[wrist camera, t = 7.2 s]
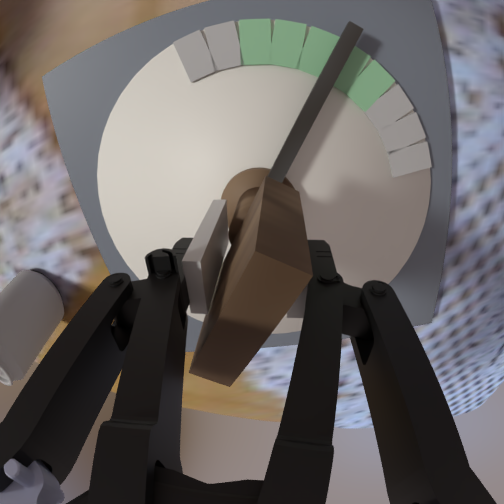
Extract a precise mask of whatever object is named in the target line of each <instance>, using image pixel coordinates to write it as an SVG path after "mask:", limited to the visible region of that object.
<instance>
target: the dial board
mask: <svg viewBox="0 0 504 504" xmlns="http://www.w3.org/2000/svg"><path fill="white" fill-rule="evenodd" d="M349 21H351V22H353V23H354V24H356V25H358V26H360V27H361V28H363V29H364V30H363V32H362V33H361V35H360V37H359V39H358V41H357V43H356V45H355V46H354V48H353V50H352V52H351V54H350V56H349V58H348V59H347V61H346V63H345V65H344V67H343V69H342V71H341V73H340V74H339V76H338V78H337V80H336V82H335V84H334V86H333V87H332V89H331V91H330V93H329V95H328V97H327V99H326V101H325V102H324V104H323V106H322V108H321V110H320V112H319V114H318V116H317V118H316V119H315V121H314V123H313V125H312V127H311V129H310V131H309V133H308V134H307V136H306V138H305V140H304V142H303V144H302V146H301V148H300V150H299V151H298V153H297V155H296V157H295V159H294V161H293V163H292V165H291V167H290V168H289V170H288V172H287V174H286V176H285V177H286V178H287V179H288V180H289V181H290V182H291V183H292V185H293V187H294V188H295V190H297V191H299V193H300V199H301V204H302V210H303V216H304V222H305V228H306V234H307V240H325V241H326V242H327V243H328V244H329V245H330V248H331V253H332V256H333V259H334V263H335V267H336V271H337V273H338V274H340V275H341V276H342V278H343V282H344V283H346V284H348V285H351V286H355V287H359V288H362V287H363V285H364V283H366V282H367V281H371V280H378V281H383V282H385V283H387V284H389V285H390V286H391V287H392V288H393V290H394V291H395V293H396V295H397V297H398V299H399V301H400V303H401V304H402V306H403V308H404V310H405V312H406V314H407V316H408V318H409V320H410V322H411V324H412V326H413V327H414V326H419V325H423V324H428V323H431V322H432V318H433V314H434V310H435V305H436V301H437V296H438V291H439V286H440V281H441V275H442V270H443V263H444V257H445V250H446V242H447V234H448V225H449V214H450V201H451V182H452V132H451V114H450V101H449V91H448V82H447V74H446V67H445V61H444V55H443V49H442V44H441V39H440V34H439V29H438V25H437V21H436V16H435V13H434V9H433V5H432V1H431V0H209V1H206V2H202V3H199V4H195V5H192V6H189V7H185V8H182V9H179V10H176V11H173V12H170V13H167V14H164V15H162V16H159V17H156V18H154V19H151V20H149V21H146V22H144V23H141V24H139V25H136V26H134V27H132V28H129V29H127V30H125V31H123V32H120V33H118V34H116V35H114V36H112V37H110V38H108V39H106V40H104V41H102V42H100V43H98V44H96V45H94V46H92V47H90V48H88V49H87V50H85V51H83V52H81V53H79V54H78V55H76V56H74V57H72V58H71V59H69V60H67V61H66V62H64V63H62V64H61V65H59V66H58V67H56V68H54V69H53V70H51V71H50V72H48V73H47V74H45V75H44V76H42V79H43V84H44V89H45V93H46V97H47V102H48V106H49V110H50V114H51V118H52V121H53V125H54V129H55V132H56V136H57V139H58V142H59V146H60V149H61V152H62V155H63V158H64V162H65V165H66V168H67V170H68V173H69V176H70V179H71V182H72V185H73V187H74V190H75V193H76V196H77V198H78V201H79V203H80V206H81V209H82V211H83V214H84V216H85V218H86V221H87V223H88V226H89V228H90V230H91V233H92V235H93V237H94V240H95V242H96V244H97V246H98V249H99V251H100V253H101V255H102V257H103V260H104V262H105V264H106V266H107V268H108V270H109V272H110V274H111V275H112V274H114V273H126V274H128V275H129V276H130V278H131V281H137V280H143V279H147V278H148V275H149V274H148V270H147V266H146V262H145V256H146V255H147V254H148V253H150V252H151V251H154V250H156V249H162V248H166V249H172V248H173V246H174V244H175V243H176V242H177V241H178V240H180V239H181V238H194V236H195V234H196V232H197V230H198V228H199V226H200V224H201V222H202V220H203V218H204V217H205V215H206V213H207V211H208V209H209V207H210V205H211V203H212V202H213V200H221V196H222V193H223V191H224V189H225V187H226V185H227V184H228V182H229V181H230V180H231V179H232V178H233V177H234V176H235V175H236V174H238V173H240V172H241V171H244V170H246V169H250V168H259V167H262V168H268V169H271V168H272V166H273V164H274V162H275V160H276V158H277V156H278V154H279V152H280V150H281V148H282V146H283V144H284V142H285V140H286V138H287V137H288V135H289V133H290V131H291V129H292V127H293V125H294V123H295V121H296V119H297V117H298V115H299V113H300V111H301V109H302V108H303V106H304V104H305V102H306V100H307V98H308V96H309V94H310V92H311V90H312V88H313V87H314V85H315V83H316V81H317V79H318V77H319V75H320V73H321V71H322V70H323V68H324V66H325V64H326V62H327V60H328V58H329V56H330V55H331V53H332V51H333V49H334V47H335V45H336V43H337V42H338V40H339V38H340V36H341V34H342V32H343V31H344V29H345V27H346V25H347V23H348V22H349ZM228 231H229V228H228ZM230 247H231V244H230V241H229V243H228V246H227V250H226V253H225V256H224V259H225V257H226V255H227V253H228V251H229V249H230ZM223 261H224V260H223ZM187 316H188V327H187V338H186V350H185V352H192V351H195V349H196V345H197V342H198V338H199V335H200V331H201V328H202V324H203V321H204V318H205V314H194V313H191V311H190V306H188V309H187ZM302 322H303V318H287V313H286V315H285V316H284V317H283V319H282V320H281V321H280V323H279V324H278V325H277V327H276V328H275V329H274V331H273V332H272V333H271V335H270V336H269V337H268V339H267V340H266V341H265V343H264V344H263V345H262V347H261V348H266V347H277V346H288V345H298V343H299V338H300V333H301V328H302ZM345 338H350V336H348V335H344V334H342V339H345Z"/></svg>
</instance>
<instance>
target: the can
mask: <svg viewBox="0 0 504 504" xmlns="http://www.w3.org/2000/svg"><path fill="white" fill-rule="evenodd" d="M63 316H64V306H63V303H62V298H61V296H60V293H59V292H58V290H57V288H56V287H55V285H54V284H53V283H52V282H51V281H50V280H49V279H48V278H47V277H45V276H44V275H42V274H40V273H38V272H34V271H30V270H23V271H21V272H20V273H19V274H18V275H17V276H16V277H15V278H14V279H13V280H12V281H11V282H10V283H9V284H8V285H7V286H6V287H5V288H4V289H3V290H2V291H1V293H0V382H2V383H3V384H5V385H9V386H11V385H13V381H14V380H21V379H23V378H24V376H25V375H26V373H27V371H28V370H29V368H30V367H31V365H32V363H33V362H34V360H35V359H36V357H37V356H38V354H39V353H40V351H41V349H42V348H43V346H44V345H45V343H46V342H47V340H48V339H49V337H50V336H51V334H52V333H53V332H54V330H55V329H56V327H57V326H58V324H59V323H60V321H61V320H62V319H63Z"/></svg>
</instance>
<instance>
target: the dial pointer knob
mask: <svg viewBox="0 0 504 504" xmlns="http://www.w3.org/2000/svg"><path fill="white" fill-rule="evenodd" d="M363 30H364V29H363V28H361V27H360V26H358V25H356V24H354V23H353V22H351V21H349V22H348V23H347V25H346V27H345V29H344V31H343V32H342V34H341V36H340V38H339V40H338V42H337V43H336V45H335V47H334V49H333V51H332V53H331V55H330V56H329V58H328V60H327V62H326V64H325V66H324V68H323V70H322V71H321V73H320V75H319V77H318V79H317V81H316V83H315V85H314V87H313V88H312V90H311V92H310V94H309V96H308V98H307V100H306V102H305V104H304V106H303V108H302V109H301V111H300V113H299V115H298V117H297V119H296V121H295V123H294V125H293V127H292V129H291V131H290V133H289V135H288V137H287V138H286V140H285V142H284V144H283V146H282V148H281V150H280V152H279V154H278V156H277V158H276V160H275V162H274V164H273V166H272V168H271V169H268V168H262V167H259V168H250V169H246V170H244V171H241V172H240V173H238V174H236V175H235V176H234V177H233V178H232V179H231V180H230V181H229V182H228V184H227V185H226V187H225V189H224V191H223V193H222V196H221V199H226V200H227V216H228V228H229V231H228V237H229V241H230V244H231V247H230V249H229V251H228V253H227V255H226V257H225V259H224V261H223V263H222V267H221V270H220V273H219V277H218V280H217V284H216V287H215V291H214V294H213V297H212V301H211V304H210V308H209V311H208V314H205V318H204V321H203V324H202V328H201V331H200V335H199V338H198V342H197V345H196V349H195V352H194V356H193V360H192V363H191V367H190V370H189V373H191V374H194V375H197V376H199V377H202V378H205V379H208V380H211V381H214V382H217V383H220V384H223V385H226V386H229V387H230V386H231V385H232V384H233V382H234V381H235V380H236V379H237V377H238V376H239V375H240V374H241V372H242V371H243V370H244V369H245V367H246V366H247V365H248V364H249V362H250V361H251V360H252V358H253V357H254V356H255V355H256V353H257V352H258V351H259V349H260V348H261V347H262V345H263V344H264V343H265V341H266V340H267V339H268V337H269V336H270V335H271V333H272V332H273V331H274V329H275V328H276V327H277V325H278V324H279V323H280V321H281V320H282V319H283V317H284V316H285V315H286V313H287V312H288V310H289V309H290V308H291V306H292V305H293V303H294V302H295V301H296V299H297V298H298V297H299V295H300V294H301V292H302V291H303V289H304V288H305V287H306V285H307V284H308V282H309V281H310V279H311V278H312V277H313V272H312V265H311V259H310V252H309V246H308V240H307V234H306V228H305V222H304V216H303V210H302V204H301V199H300V193H299V191H297V190H295V188H294V187H293V185H292V183H291V182H290V181H289V180H288V179H287V178H286V177H285V176H286V174H287V172H288V170H289V168H290V167H291V165H292V163H293V161H294V159H295V157H296V155H297V153H298V151H299V150H300V148H301V146H302V144H303V142H304V140H305V138H306V136H307V134H308V133H309V131H310V129H311V127H312V125H313V123H314V121H315V119H316V118H317V116H318V114H319V112H320V110H321V108H322V106H323V104H324V102H325V101H326V99H327V97H328V95H329V93H330V91H331V89H332V87H333V86H334V84H335V82H336V80H337V78H338V76H339V74H340V73H341V71H342V69H343V67H344V65H345V63H346V61H347V59H348V58H349V56H350V54H351V52H352V50H353V48H354V46H355V45H356V43H357V41H358V39H359V37H360V35H361V33H362V32H363Z"/></svg>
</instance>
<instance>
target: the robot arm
mask: <svg viewBox="0 0 504 504" xmlns="http://www.w3.org/2000/svg"><path fill="white" fill-rule="evenodd" d="M228 243H229V237H228V216H227V200H226V199H221V200H213V202H212V203H211V205H210V207H209V209H208V211H207V213H206V215H205V217H204V218H203V220H202V222H201V224H200V226H199V228H198V230H197V232H196V234H195V236H194V238H181V239H180V240H178V241H177V242H176V243H175V244H174V246H173V248H172V249H166V248H162V249H156V250H154V251H151V252H150V253H148V254H147V255H146V256H145V262H146V266H147V270H148V274H149V275H148V278H147V279H143V280H137V281H131V278H130V276H129V275H128V274H126V273H114V274H112V275H110V276H108V277H106V278H105V279H104V280H103V281H102V283H101V284H100V285H99V286H98V287H97V289H96V290H95V291H94V292H93V293H92V295H91V296H90V297H89V298H88V300H87V301H86V302H85V303H84V305H83V306H82V307H81V308H80V310H79V311H78V312H77V314H76V315H75V316H74V317H73V319H72V320H71V321H70V323H69V324H68V325H67V327H66V328H65V329H64V331H63V332H62V333H61V335H60V336H59V337H58V339H57V340H56V341H55V343H54V344H53V345H52V347H51V348H50V350H49V351H48V352H47V354H46V355H45V357H44V358H43V360H42V361H41V362H40V364H39V365H38V367H37V368H36V370H35V371H34V373H33V374H32V376H31V377H30V379H29V380H28V382H27V383H26V385H25V386H24V388H23V389H22V391H21V392H20V394H19V396H18V397H17V399H16V400H15V402H14V404H13V405H12V407H11V409H10V410H9V412H8V414H7V415H6V417H5V418H4V420H3V422H1V423H0V504H59V503H62V502H63V500H64V493H63V491H62V490H61V489H60V485H61V484H62V482H63V481H64V480H65V479H66V477H67V476H68V474H69V473H70V471H71V470H72V468H73V466H74V464H75V462H76V460H77V458H78V456H79V454H80V451H81V450H82V447H83V445H84V443H85V441H86V439H87V437H88V435H89V433H90V431H91V429H92V426H93V424H94V422H95V420H96V418H97V416H98V414H99V412H100V410H101V408H102V406H103V404H104V402H105V400H106V398H107V396H108V394H109V392H110V391H111V389H112V387H113V385H114V383H115V381H116V379H117V377H118V375H119V373H120V371H121V370H122V371H121V376H120V380H119V384H118V389H117V393H116V399H115V403H114V408H113V413H112V417H111V419H110V420H109V421H105V422H103V423H102V424H101V426H100V429H99V432H98V438H97V443H96V448H95V454H94V460H93V466H92V473H91V480H90V487H89V490H88V491H86V492H85V493H83V494H81V495H80V496H78V497H76V498H75V499H73V500H71V501H70V502H68V503H66V504H325V502H326V498H327V492H328V487H329V481H330V474H331V469H332V462H333V454H334V447H333V445H332V437H333V430H334V422H335V413H336V404H337V394H338V383H339V371H340V358H341V341H342V334H344V335H348V336H350V339H351V343H352V346H353V350H354V353H355V357H356V360H357V364H358V367H359V371H360V375H361V378H362V382H363V386H364V390H365V394H366V397H367V401H368V405H369V409H370V414H371V418H372V422H373V426H374V430H375V435H376V439H377V444H378V448H379V453H380V457H381V462H382V467H383V472H384V477H385V483H386V488H387V493H388V497H389V501H390V504H496V502H495V501H494V499H493V498H492V497H491V495H490V494H489V492H488V491H487V490H486V488H485V487H484V486H483V484H482V483H481V481H480V480H479V479H478V477H477V476H476V475H475V473H474V472H473V471H472V470H471V468H470V467H469V463H468V460H467V457H466V454H465V451H464V448H463V445H462V442H461V439H460V436H459V433H458V430H457V428H456V425H455V422H454V419H453V417H452V414H451V411H450V409H449V406H448V404H447V401H446V399H445V396H444V394H443V391H442V389H441V387H440V384H439V382H438V379H437V377H436V375H435V373H434V370H433V368H432V366H431V364H430V361H429V359H428V357H427V355H426V353H425V351H424V348H423V346H422V344H421V342H420V340H419V338H418V336H417V334H416V332H415V330H414V328H413V326H412V324H411V322H410V320H409V318H408V316H407V314H406V312H405V310H404V308H403V306H402V304H401V303H400V301H399V299H398V297H397V295H396V293H395V291H394V290H393V288H392V287H391V286H390V285H389V284H387V283H385V282H383V281H378V280H371V281H367V282H366V283H364V285H363V287H362V288H359V287H355V286H351V285H348V284H346V283H344V282H343V278H342V276H341V275H340V274H338V273H337V271H336V267H335V263H334V259H333V256H332V253H331V248H330V245H329V244H328V243H327V242H326V241H325V240H308V246H309V252H310V259H311V265H312V272H313V277H312V278H311V279H310V281H309V282H308V284H307V285H306V287H305V288H304V289H303V291H302V292H301V294H300V295H299V297H298V298H297V299H296V301H295V302H294V303H293V305H292V306H291V308H290V309H289V310H288V312H287V318H303V322H302V328H301V333H300V338H299V343H298V348H297V353H296V357H295V362H294V367H293V372H292V376H291V381H290V385H289V390H288V394H287V398H286V403H285V407H284V411H283V415H282V419H281V423H280V428H279V432H278V435H277V438H276V440H275V443H274V447H273V450H272V454H271V457H270V461H269V465H268V468H267V472H266V475H265V479H264V481H263V480H241V481H233V482H225V483H216V484H207V483H204V482H201V481H198V480H196V479H194V478H191V477H189V476H187V475H184V474H183V472H182V466H181V461H180V431H181V409H182V391H183V376H184V362H185V350H186V338H187V327H188V316H187V309H188V306H190V311H191V313H194V314H208V311H209V308H210V304H211V301H212V297H213V294H214V291H215V287H216V284H217V280H218V277H219V273H220V270H221V267H222V263H223V260H224V256H225V253H226V250H227V246H228ZM113 319H114V320H115V321H114V322H113V324H112V321H113ZM111 324H112V325H111Z"/></svg>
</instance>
